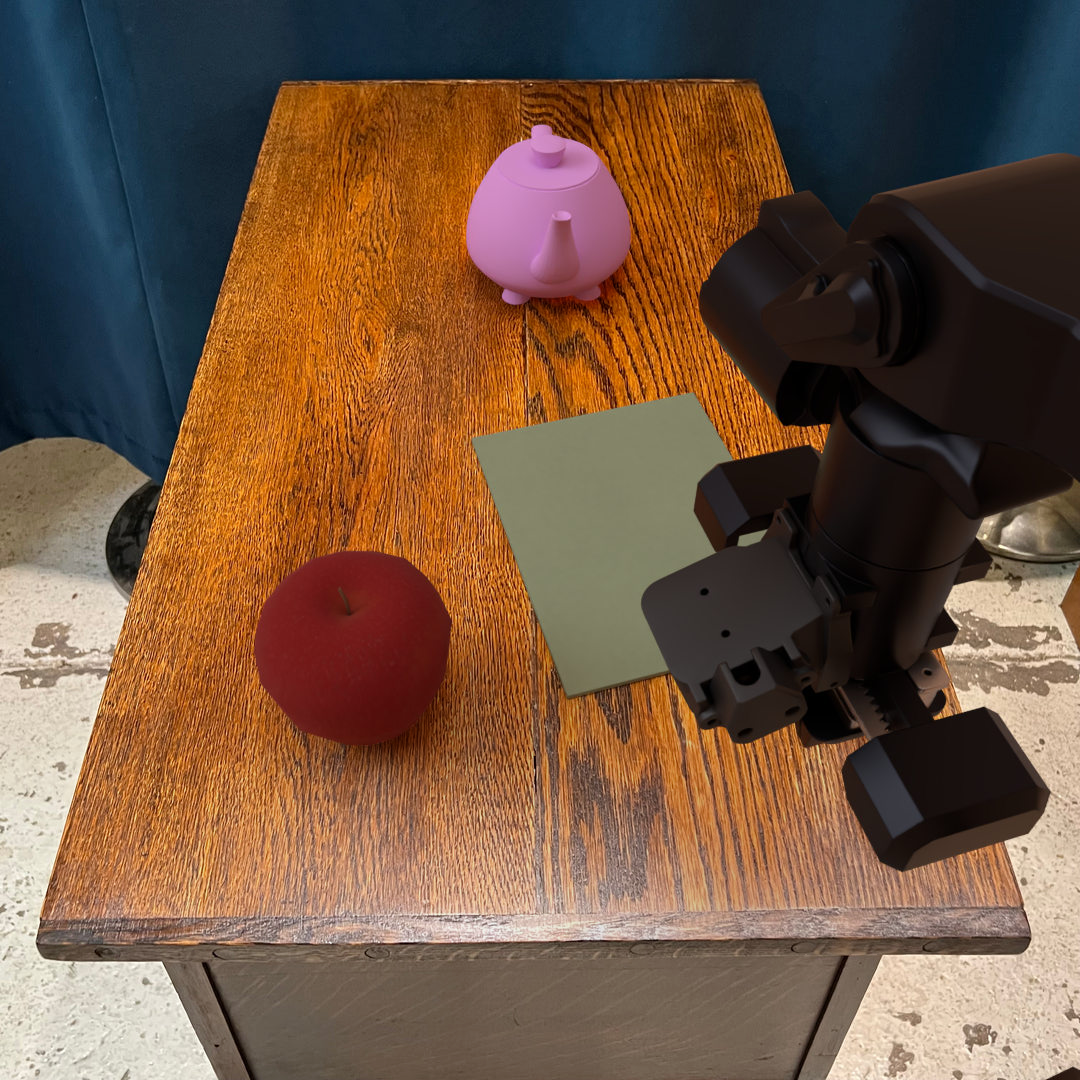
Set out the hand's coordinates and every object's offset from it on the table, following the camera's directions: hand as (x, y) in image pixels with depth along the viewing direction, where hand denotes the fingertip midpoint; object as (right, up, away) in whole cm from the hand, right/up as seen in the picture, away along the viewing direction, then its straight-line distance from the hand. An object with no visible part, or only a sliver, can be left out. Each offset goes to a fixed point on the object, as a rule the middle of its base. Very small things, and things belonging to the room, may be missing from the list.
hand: (810, 739), depth 49 cm
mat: (-6, +10, +26) cm, 28 cm away
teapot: (-12, +32, +46) cm, 57 cm away
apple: (-23, -1, +17) cm, 28 cm away
